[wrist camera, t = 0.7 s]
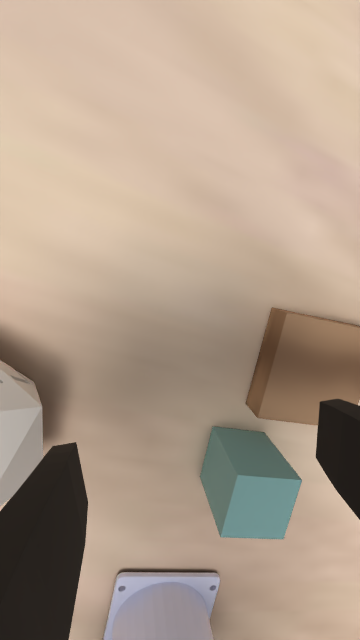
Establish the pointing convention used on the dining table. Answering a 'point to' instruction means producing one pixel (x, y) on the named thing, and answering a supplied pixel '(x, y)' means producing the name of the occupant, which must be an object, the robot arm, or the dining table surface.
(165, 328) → the dining table surface
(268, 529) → the teal block
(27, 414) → the die
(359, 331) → the walnut slab
